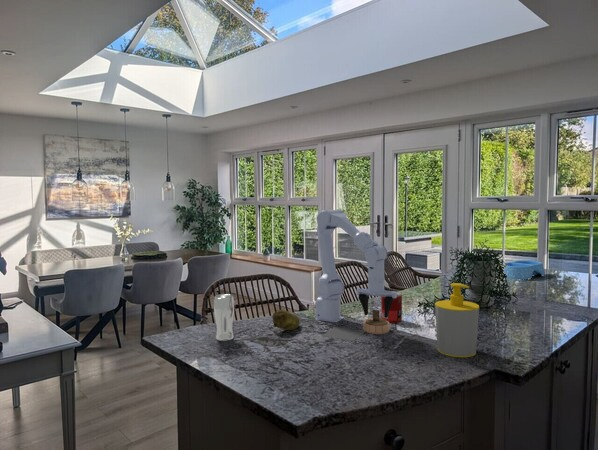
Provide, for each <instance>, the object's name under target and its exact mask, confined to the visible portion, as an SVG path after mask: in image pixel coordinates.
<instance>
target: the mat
mask: <svg viewBox="0 0 598 450" xmlns="http://www.w3.org/2000/svg"><path fill="white" fill-rule="evenodd" d="M365 333H367V332H366V331H364V330H362V329H353V328H345V327H339V326H335V327H333V328H331V329H329V331H327V332H326V333H324V334H322V335H321V337H323V338H324V337H325V338H331V339H332V338H333V339H337V340H346V341H351V342H354V341H355V340H357V339H358V338H360V337H361V336H362V335H363V334H365Z"/></svg>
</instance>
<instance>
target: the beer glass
mask: <svg viewBox="0 0 598 450" xmlns="http://www.w3.org/2000/svg"><path fill="white" fill-rule="evenodd" d="M213 299H214V300H213V313H214V314H213V315H214V320H215V323H216V336H215V340H216V341H220V342H227V341H232V340H234V333H233V323H234V322H233V321H234V316H235V301H234V294H230V293H220V294H216V295H215V296H214V298H213Z"/></svg>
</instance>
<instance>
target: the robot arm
mask: <svg viewBox="0 0 598 450" xmlns="http://www.w3.org/2000/svg"><path fill="white" fill-rule="evenodd" d="M315 218H316V224H317V228H316V234H317V235H316V236H317V241H318V249H319V257H320V265H321V270H322V271H321V272H322V275H321V276H320V277H319V279H318V287H317V290H318V292H317V293H318V295H319V296H318V297H317V299H316V302H315V320H316V321H324V322H330V323H339V322H340V321H341V320H343V319H344V318H345V317H344V316H341V298H342V295H343V294H344V292H345V285H344V283H343V280H342V276H341V275H340V274H339V273H337V269H336V261H335V253H334V247H333V246H334V245H333V241H332V239H333V238H332V234H333V232H334V231H335V230H336V229H337V228H340V229H341V230H343V231H344V232H345V233H347V235H349V236H350V237H351V238H352V239H353V243H354V245H355V246H357V248H358V249H359V250H360V251H361V252H362V253H364V258H365V260H366V262H367V274H368V275H367V277H368V280H367V283H368V285H367V286H368V287H367V288H357V289H356V295H357V296H358V300H359V302H360V304H361V307H362V310H363V313H364V316H367V315H369V299H370V298H369V297H370V296H371V297H386V298H385V299H384V304H385V318H387V317H388V316H389V311H390V307H391V305H392V302H393V300H394V298H396V297H397V292H398V291H395V292H392V291H393V290H386V289H385V260H386V259H387V257H388V249H387V248H386V247H385V245H383V244H379V243H378V242H377V241H374V240H373V238H372V237H370V236H369V235H370V234H369V233H368V232H365V231H360V230H359V229H358V228H357V227H356V226H355V224H353V223H352V222H351V221H350V219H349V218H348V217H347V214H346V213H344V212H343V210H341V209H330V210H329V209H328V210H326V209H322V210H320V211H319V213H318V214H317V216H316V217H315Z"/></svg>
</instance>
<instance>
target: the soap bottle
mask: <svg viewBox="0 0 598 450" xmlns="http://www.w3.org/2000/svg"><path fill="white" fill-rule="evenodd" d="M450 287H452V293H451V294H450V296H449V297H450V299H444V300H438V301H436V302H435V304H434V307H435V309H434V310H435V312H434V313H435V324H436V325H435V328H436V343H437V344H436V346H437V351H438V352H439V353H441V354H443V355H444V356H445V355H446V356H448V357H454V358H470V357H474V356H476V355H477V345H478V343H477V342H478V329H479V328H478V327H479V316H480V314H479V313H480V305H479V304H477V303H475V302H471V301H466V300H464V295H463V294H462V291H461V289H462V288H464V289H470V286H468V285H466V284H463V283H458V282H457V283H456V282H452V283H450Z"/></svg>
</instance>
